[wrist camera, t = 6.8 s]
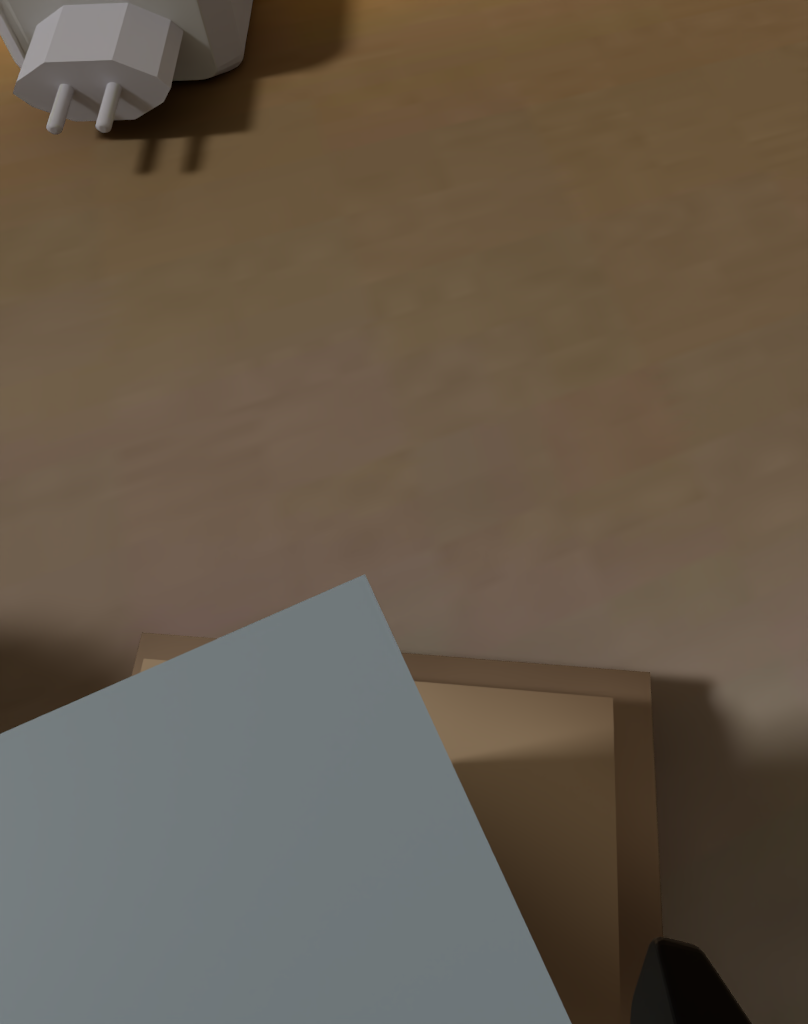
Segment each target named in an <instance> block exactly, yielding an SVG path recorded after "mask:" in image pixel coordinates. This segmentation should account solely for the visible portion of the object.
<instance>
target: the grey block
mask: <svg viewBox="0 0 808 1024" xmlns="http://www.w3.org/2000/svg"><path fill="white" fill-rule="evenodd" d="M0 1024H572V1023H571V1021H570V1019H569V1017H568V1015H567V1013H566V1010H565V1008H564V1006H563V1004H562V1002H561V999H560V997H559V995H558V993H557V991H556V989H555V986H554V984H553V982H552V980H551V978H550V976H549V973H548V971H547V969H546V967H545V965H544V963H543V960H542V958H541V956H540V954H539V952H538V950H537V947H536V945H535V943H534V941H533V939H532V937H531V934H530V932H529V930H528V928H527V926H526V923H525V921H524V919H523V917H522V915H521V913H520V910H519V908H518V906H517V904H516V902H515V900H514V897H513V895H512V893H511V891H510V889H509V887H508V884H507V882H506V880H505V878H504V876H503V874H502V871H501V869H500V867H499V865H498V863H497V860H496V858H495V856H494V854H493V852H492V850H491V847H490V845H489V843H488V841H487V839H486V837H485V834H484V832H483V830H482V828H481V826H480V824H479V821H478V819H477V817H476V815H475V813H474V811H473V808H472V806H471V804H470V802H469V800H468V797H467V795H466V793H465V791H464V789H463V787H462V784H461V782H460V780H459V778H458V776H457V774H456V771H455V769H454V767H453V765H452V763H451V761H450V758H449V756H448V754H447V752H446V750H445V748H444V745H443V743H442V741H441V739H440V737H439V734H438V732H437V730H436V728H435V726H434V724H433V721H432V719H431V717H430V715H429V713H428V711H427V708H426V706H425V704H424V702H423V700H422V698H421V695H420V693H419V691H418V689H417V687H416V685H415V682H414V680H413V678H412V676H411V674H410V671H409V669H408V667H407V665H406V663H405V661H404V658H403V656H402V654H401V652H400V650H399V648H398V645H397V643H396V641H395V639H394V637H393V635H392V632H391V630H390V628H389V626H388V624H387V622H386V619H385V617H384V615H383V613H382V611H381V609H380V606H379V604H378V602H377V600H376V598H375V595H374V593H373V591H372V589H371V587H370V585H369V582H368V580H367V578H366V576H365V575H362V576H360V577H358V578H355V579H353V580H351V581H349V582H346V583H344V584H342V585H339V586H337V587H335V588H333V589H330V590H328V591H326V592H323V593H321V594H319V595H317V596H314V597H312V598H310V599H307V600H305V601H303V602H301V603H298V604H296V605H294V606H291V607H289V608H287V609H285V610H282V611H280V612H278V613H275V614H273V615H271V616H269V617H266V618H264V619H262V620H259V621H257V622H255V623H252V624H250V625H248V626H246V627H243V628H241V629H239V630H236V631H234V632H232V633H230V634H227V635H225V636H223V637H220V638H218V639H216V640H214V641H211V642H209V643H207V644H204V645H202V646H200V647H198V648H195V649H193V650H191V651H188V652H186V653H184V654H182V655H179V656H177V657H175V658H172V659H170V660H168V661H166V662H163V663H161V664H159V665H156V666H154V667H152V668H150V669H147V670H145V671H143V672H140V673H138V674H136V675H134V676H131V677H129V678H127V679H124V680H122V681H120V682H118V683H115V684H113V685H111V686H108V687H106V688H104V689H102V690H99V691H97V692H95V693H92V694H90V695H88V696H86V697H83V698H81V699H79V700H76V701H74V702H72V703H70V704H67V705H65V706H63V707H60V708H58V709H56V710H54V711H51V712H49V713H47V714H44V715H42V716H40V717H38V718H35V719H33V720H31V721H28V722H26V723H24V724H22V725H19V726H17V727H15V728H12V729H10V730H8V731H6V732H3V733H1V734H0Z"/></svg>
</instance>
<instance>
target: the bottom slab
mask: <svg viewBox="0 0 808 1024" xmlns="http://www.w3.org/2000/svg"><path fill="white" fill-rule="evenodd" d="M216 639H217V638H204V637H192V636H179V635H166V634H153V633H142V634H141V639H140V643H139V647H138V651H137V655H136V659H135V663H134V667H133V671H132V675H131V676H134V675H136V674H138V673H140V672H141V667H142V663H143V659H155V660H167V661H168V660H170V659H172V658H175V657H177V656H179V655H182V654H184V653H186V652H188V651H191V650H193V649H195V648H198V647H200V646H202V645H204V644H207V643H209V642H211V641H214V640H216ZM401 654H402V656H403V658H404V661H405V663H406V665H407V667H408V669H409V671H410V674H411V676H412V678H413V680H414V681H417V682H429V683H441V684H453V685H464V686H476V687H488V688H500V689H512V690H524V691H536V692H548V693H560V694H572V695H584V696H596V697H607V698H613V718H614V760H615V801H616V842H617V884H618V925H619V966H620V1007H621V1024H630V1016H631V1005H632V999H633V995H634V991H635V988H636V985H637V982H638V979H639V975H640V972H641V969H642V966H643V962H644V959H645V956H646V953H647V950H648V947H649V944H650V943H651V941H652V940H653V939H654V938H656V937H663V926H662V906H661V885H660V865H659V844H658V824H657V803H656V782H655V762H654V741H653V721H652V700H651V680H650V672H639V671H626V670H613V669H601V668H588V667H575V666H562V665H549V664H537V663H524V662H511V661H498V660H486V659H473V658H460V657H447V656H434V655H422V654H409V653H401Z"/></svg>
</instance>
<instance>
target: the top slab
mask: <svg viewBox="0 0 808 1024" xmlns="http://www.w3.org/2000/svg"><path fill="white" fill-rule="evenodd" d="M166 661H167V660H155V659H143V663H142V667H141V672H143V671H145V670H147V669H150V668H152V667H154V666H156V665H159V664H161V663H163V662H166ZM414 682H415V685H416V687H417V689H418V691H419V693H420V695H421V698H422V700H423V702H424V704H425V706H426V708H427V711H428V713H429V715H430V717H431V719H432V721H433V724H434V726H435V728H436V730H437V732H438V734H439V737H440V739H441V741H442V743H443V745H444V748H445V750H446V752H447V754H448V756H449V758H450V761H451V763H452V765H453V767H454V769H455V771H456V774H457V776H458V778H459V780H460V782H461V784H462V787H463V789H464V791H465V793H466V795H467V797H468V800H469V802H470V804H471V806H472V808H473V811H474V813H475V815H476V817H477V819H478V821H479V824H480V826H481V828H482V830H483V832H484V834H485V837H486V839H487V841H488V843H489V845H490V847H491V850H492V852H493V854H494V856H495V858H496V860H497V863H498V865H499V867H500V869H501V871H502V874H503V876H504V878H505V880H506V882H507V884H508V887H509V889H510V891H511V893H512V895H513V897H514V900H515V902H516V904H517V906H518V908H519V910H520V913H521V915H522V917H523V919H524V921H525V923H526V926H527V928H528V930H529V932H530V934H531V937H532V939H533V941H534V943H535V945H536V947H537V950H538V952H539V954H540V956H541V958H542V960H543V963H544V965H545V967H546V969H547V971H548V973H549V976H550V978H551V980H552V982H553V984H554V986H555V989H556V991H557V993H558V995H559V997H560V999H561V1002H562V1004H563V1006H564V1008H565V1010H566V1013H567V1015H568V1017H569V1019H570V1021H571V1023H572V1024H621V1007H620V966H619V925H618V884H617V842H616V801H615V760H614V718H613V698H607V697H596V696H584V695H572V694H560V693H548V692H536V691H524V690H512V689H500V688H488V687H476V686H464V685H453V684H441V683H429V682H417V681H414Z"/></svg>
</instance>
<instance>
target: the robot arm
mask: <svg viewBox="0 0 808 1024" xmlns="http://www.w3.org/2000/svg"><path fill="white" fill-rule="evenodd" d="M630 1024H752V1023H751V1022H750V1020H749V1019H748V1017H747V1016H746V1014H745V1013H744V1012H743V1010H742V1009H741V1007H740V1006H739V1004H738V1003H737V1001H736V1000H735V998H734V997H733V995H732V994H731V992H730V991H729V989H728V988H727V986H726V985H725V983H724V982H723V980H722V979H721V977H720V976H719V974H718V973H717V972H716V970H715V969H714V967H713V966H712V964H711V963H710V961H709V960H708V958H707V957H706V955H705V954H704V953H703V951H701V950H700V949H699V948H698V947H697V946H695V945H693V944H689V943H685V942H681V941H677V940H672V939H668V938H664V937H656V938H654V939H653V940H652V941H651V943H650V944H649V947H648V950H647V953H646V956H645V959H644V962H643V966H642V969H641V972H640V975H639V979H638V982H637V985H636V988H635V991H634V995H633V999H632V1005H631V1016H630Z"/></svg>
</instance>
